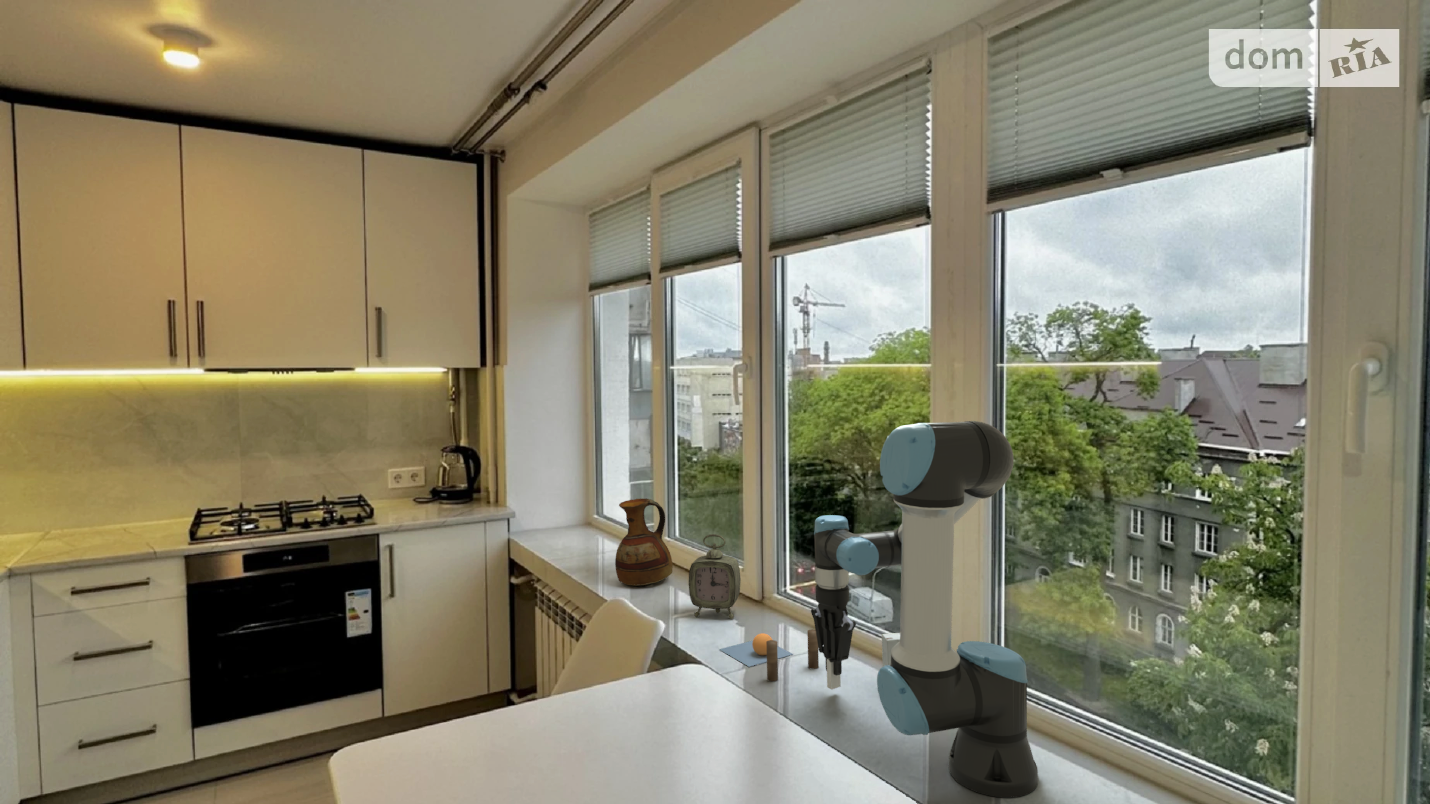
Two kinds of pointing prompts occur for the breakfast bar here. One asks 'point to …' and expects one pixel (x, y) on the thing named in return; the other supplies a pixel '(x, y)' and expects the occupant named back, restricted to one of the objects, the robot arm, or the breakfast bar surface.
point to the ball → (761, 643)
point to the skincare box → (888, 646)
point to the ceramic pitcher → (642, 547)
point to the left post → (772, 660)
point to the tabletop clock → (714, 580)
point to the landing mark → (750, 654)
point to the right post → (812, 650)
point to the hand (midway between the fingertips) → (833, 686)
